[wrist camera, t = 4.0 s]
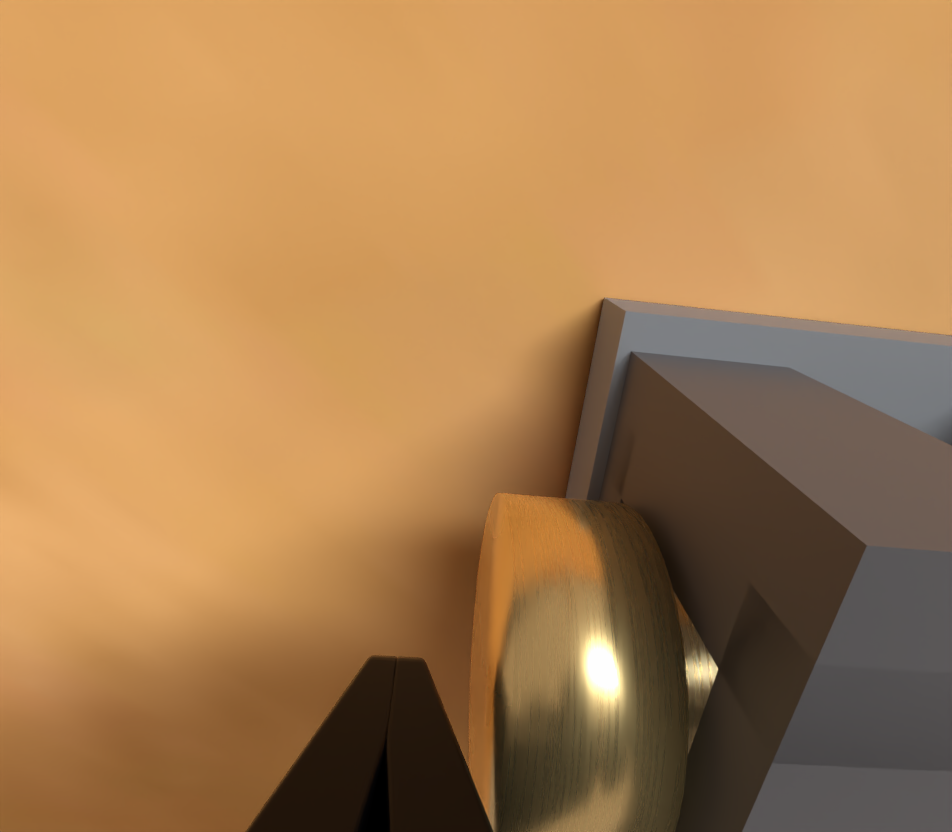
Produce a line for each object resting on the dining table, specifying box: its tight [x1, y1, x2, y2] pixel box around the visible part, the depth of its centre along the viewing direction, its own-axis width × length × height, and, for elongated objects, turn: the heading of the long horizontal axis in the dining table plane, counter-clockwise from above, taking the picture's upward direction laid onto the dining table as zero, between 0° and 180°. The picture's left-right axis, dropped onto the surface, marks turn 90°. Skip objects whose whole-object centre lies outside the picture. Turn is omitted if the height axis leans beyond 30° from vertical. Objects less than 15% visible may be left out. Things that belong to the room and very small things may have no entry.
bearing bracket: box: [565, 298, 952, 832], centre depth 10 cm, size 12×10×8 cm
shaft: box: [469, 493, 718, 832], centre depth 9 cm, size 15×5×5 cm, turn 84°
